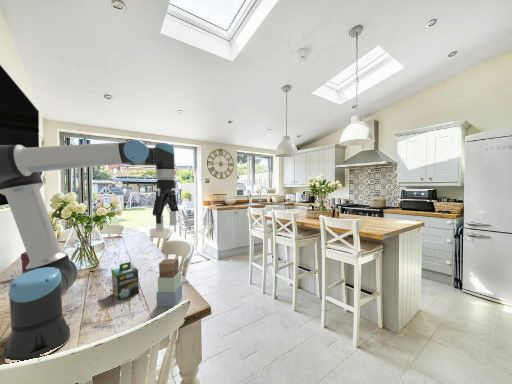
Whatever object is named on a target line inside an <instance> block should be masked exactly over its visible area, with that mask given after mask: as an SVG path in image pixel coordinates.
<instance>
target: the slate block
mask: <svg viewBox="0 0 512 384" xmlns="http://www.w3.org/2000/svg"><path fill="white" fill-rule="evenodd" d="M155 296H156V308H158V307H159V308H161V307H164V306H172V307H173V306H175V305H177V306H178V304H179V303H180V301H181V300H180V299H182V298H183V284H182V283H181V285H180V286H179V287H178V289H177V290H176V291H175V292H158V291H156V294H155ZM181 297H182V298H181ZM179 300H180V301H179ZM178 302H179V303H178ZM164 308H165V307H164Z"/></svg>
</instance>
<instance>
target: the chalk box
mask: <svg viewBox="0 0 512 384" xmlns="http://www.w3.org/2000/svg"><path fill="white" fill-rule="evenodd" d="M139 280H140V279H139V269H138V268H137V267H135V266H134V265H133V264H131V261H129V262H123V263H120V264H119V268H115V269H112V270H111V283H112V295H114V297H115V298H116V299H117V300H118V301H119V300H121V299H125V298H128V297H131V296H134V295H137V294H140V293H139V292H140V286H139V285H140V284H139V282H140V281H139Z"/></svg>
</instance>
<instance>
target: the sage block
mask: <svg viewBox="0 0 512 384" xmlns="http://www.w3.org/2000/svg"><path fill="white" fill-rule="evenodd" d="M181 280H182V279H181V271H179V272H178V273H177V274H176V276H175V277H174V278H159V276H158V277H157V292H175V291H176V290H177V289H178V287H179V286H180V285H181V284H182V283H181V282H182V281H181Z"/></svg>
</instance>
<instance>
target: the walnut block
mask: <svg viewBox="0 0 512 384" xmlns="http://www.w3.org/2000/svg"><path fill="white" fill-rule="evenodd" d="M179 263H180V262H179V258H164V259H162V261H160V262H159V263H158V272H159V273H158V274H159V276H158V277H159V278H174V277H175V276H176V274H177V273H178V272H180V269H179V268H180V267H179V265H180V264H179Z"/></svg>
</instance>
